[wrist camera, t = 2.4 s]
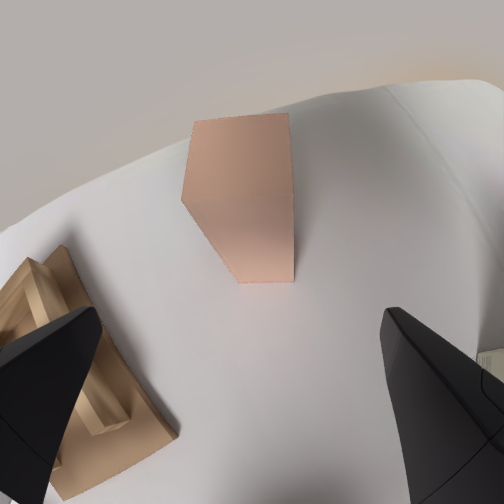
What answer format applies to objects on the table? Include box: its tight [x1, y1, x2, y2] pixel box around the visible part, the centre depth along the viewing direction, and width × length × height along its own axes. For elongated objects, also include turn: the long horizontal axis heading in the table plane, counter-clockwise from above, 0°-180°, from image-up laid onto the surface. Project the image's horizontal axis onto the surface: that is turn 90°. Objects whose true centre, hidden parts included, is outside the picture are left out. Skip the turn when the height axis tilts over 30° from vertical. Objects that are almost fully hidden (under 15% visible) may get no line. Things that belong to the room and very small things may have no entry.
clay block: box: [181, 113, 294, 283], centre depth 16 cm, size 4×4×12 cm
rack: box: [0, 245, 178, 501], centre depth 18 cm, size 20×16×4 cm
